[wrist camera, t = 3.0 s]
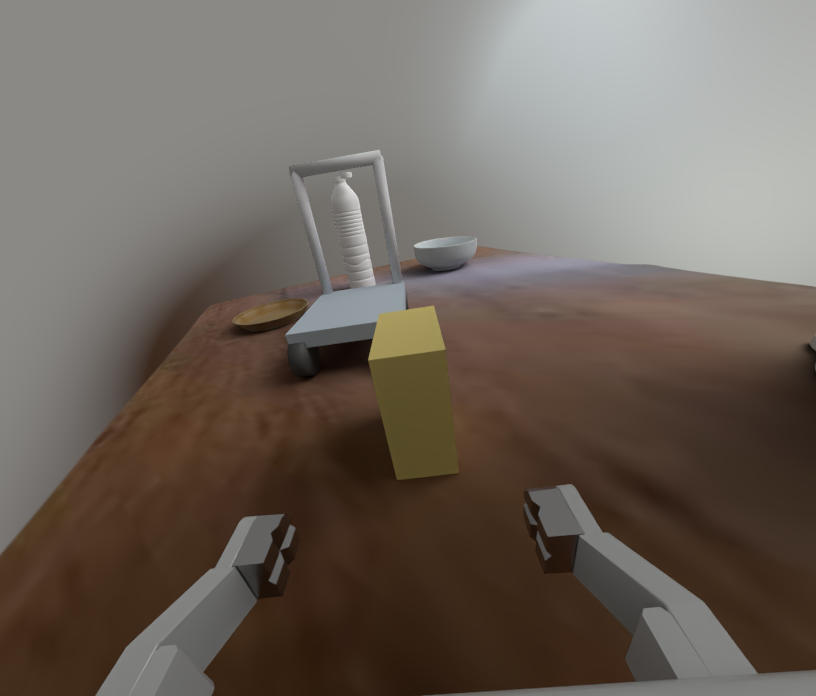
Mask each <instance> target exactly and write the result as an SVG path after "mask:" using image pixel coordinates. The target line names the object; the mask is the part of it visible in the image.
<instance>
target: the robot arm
mask: <svg viewBox="0 0 816 696" xmlns="http://www.w3.org/2000/svg"><path fill="white" fill-rule="evenodd" d="M809 344H810V346H811V347H812V348H813V349H814V350H815V351H816V334H815V335H814V337H813V338H812V339H811V341H810V342H809ZM815 370H816V363H815ZM524 498H525V500H526V504H525V505H524V518H525V523H526V526H527V530H528V532H529V535H530V537H531V538H532V539H533V540H535V541H536V550H535V551H536V554H537V556H538V559H539V561H540V564H541V567H542V569H543V572H544V574H548V573H566V572H573V575H574V576H575V577H576V578H577V579H578V580H579V581H580V582H581V583H582V584H583V585H584V586H585V587H586V588H587V589H588V590H589V591H590V592H591V593H592V594H593V595H594V596H595V597H596V598H597V599H598V600H599V601H600V602H601V603H602V604H603V605H604V607H605V608H606V609H607V610H608V611H609V612H610V613H611V614H612V615H613V616H614V617H615V618H616V619H617V620H618V621H619V622H620V623H621V624H622V625H623V626H624V627H625V628H626V629H627V630H628V631H629V632H630V633H631V634H632V635H633V638H632V641H631V643H630V646H629V649H628V651H627V654H626V657H625V660H626V662H627V665H628V667H629V669H630V671H631V673H632V675H633V677H634V679H635V681H636V682H623V683H607V684H592V685H577V686H562V687H546V688H531V689H516V690H501V691H485V692H470V693H455V694H439V695H424V696H816V670H806V671H791V672H775V673H760V674H758V673H757V672H756V670H755V669H754V668H753V666H752V665H751V664H750V662H749V661H748V660H747V658H746V657H745V656H744V654H743V653H742V652H741V650H740V649H739V648H738V646H737V645H736V644H735V642H734V641H733V640H732V639H731V637H730V636H729V635H728V633H727V632H726V631H725V629H724V628H723V627H722V625H721V624H720V623H719V621H718V620H717V619H716V617H715V616H714V615H713V613H712V612H711V611H710V609H709V608H708V607H707V605H706V604H705V603H704V602H703V601H702V600H700V599H699V598H698V597H696V596H695V595H693V594H692V593H691V592H689V591H688V590H687V589H685V588H684V587H682V586H681V585H680V584H678V583H677V582H675V581H674V580H673V579H671V578H670V577H669V576H667V575H666V574H664V573H663V572H662V571H660V570H659V569H658V568H656V567H655V566H653V565H652V564H651V563H649V562H648V561H646V560H645V559H644V558H642V557H641V556H640V555H638V554H637V553H635V552H634V551H633V550H631V549H630V548H629V547H627V546H626V545H624V544H623V543H622V542H620V541H619V540H617V539H616V538H615V537H613V536H612V535H611V534H609V533H603V532H602V531H601V529H600V527H599V526H598V524H597V522H596V521H595V519H594V517H593V516H592V514H591V513H590V511H589V509H588V508H587V506H586V504H585V503H584V501H583V499H582V498H581V496H580V495H579V493H578V491H577V490H576V488H575V487H574V486H573V485H572V484H568V485H560V486H547V487H538V488H530V489H525V491H524ZM291 520H292V519H291V518H290V516H289V514H276V515H263V516H251V517H244V518H243V519H242V520H241V521H240V522H239V524H238V525H237V527H236V529H235V531H234V533H233V535H232V537H231V539H230V541H229V542H228V544H227V546H226V548H225V550H224V552H223V554H222V556H221V557H220V559H219V561H218V563H217V565H216V567H215V568H214V569H210V570H209V571H208V572H207V573H205V574H204V575H203V576H202V577H201V578H200V579H199V580H198V581H197V582H196V583H195V584H194V585H193V586H191V587H190V588H189V589H188V590H187V591H186V592H185V593H184V594H183V595H182V596H181V597H180V598H179V599H177V600H176V601H175V602H174V603H173V604H172V605H171V606H170V607H169V608H168V609H167V610H166V611H165V612H163V613H162V614H161V615H160V616H159V617H158V618H157V619H156V620H155V621H154V622H153V623H152V624H151V625H149V626H148V627H147V628H146V629H145V630H144V631H143V632H142V633H141V634H140V635H139V636H138V637H137V638H135V639H134V640H133V641H132V642H131V643H130V644H129V645H128V646H127V647H126V648H125V650H124V652H123V653H122V655H121V656H120V658H119V659H118V661H117V663H116V664H115V666H114V667H113V669H112V670H111V672H110V674H109V675H108V677H107V678H106V680H105V681H104V683H103V685H102V686H101V688H100V689H99V691H98V692H97V694H96V696H212V693H213V691H214V688H215V687H214V683H213V681H212V680H211V679H210V678H209V677H208V676H207V675H206V674H205V673H204V670H205V669H206V668H207V666H208V665H209V664H210V663H211V661H212V660H213V659H214V657H215V656H216V655H217V653H218V652H219V651H220V649H221V648H222V647H223V645H224V644H225V643H226V641H227V640H228V639H229V638H230V636H231V635H232V634H233V632H234V631H235V630H236V628H237V627H238V626H239V624H240V623H241V622H242V620H243V619H244V618H245V617H246V615H247V614H248V613H249V611H250V610H251V609H252V607H253V606H254V605H255V603H256V602H257V599H262V598H271V597H279V596H283V594H284V591H285V588H286V584H287V581H288V578H289V575H290V571H289V567H288V565H289V564H290V563H291V562H292V561H293V560H294V559H295V556H296V553H297V549H298V540H299V539H298V532H297V530H296V528H295V527H293V526H292V525H290V523H291Z"/></svg>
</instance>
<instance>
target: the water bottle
mask: <svg viewBox="0 0 816 696" xmlns="http://www.w3.org/2000/svg"><path fill="white" fill-rule="evenodd" d="M348 178H352V173H351V172H345V173H341V174H340V176H339V177H334V180H335V182H334V183H335V187H334V190H333V193H332V196H331V200H330V205H331V209H332V213H333V217H334V221H335V225H336V229H337V233H338V237H339V243H340V246H341V251H342V255H343V259H344V262H345V268H346V271H347V276H348V279H349V285H350V289H354V288H360V287H367V286H373V285H376V284H375V279H374V276H373V269H372V264H371V260H370V254H369V252H368V251H369V249H368V245H367V239H366V235H365V230H364V226H363V222H362V221H363V220H362V215H361V211H360V204H359V200H358V197H357V195H356V194H355V193H354V192H353V191H352V190H351V188H350V187H349V186H348V185H347V184H346V180H345V179H348Z"/></svg>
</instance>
